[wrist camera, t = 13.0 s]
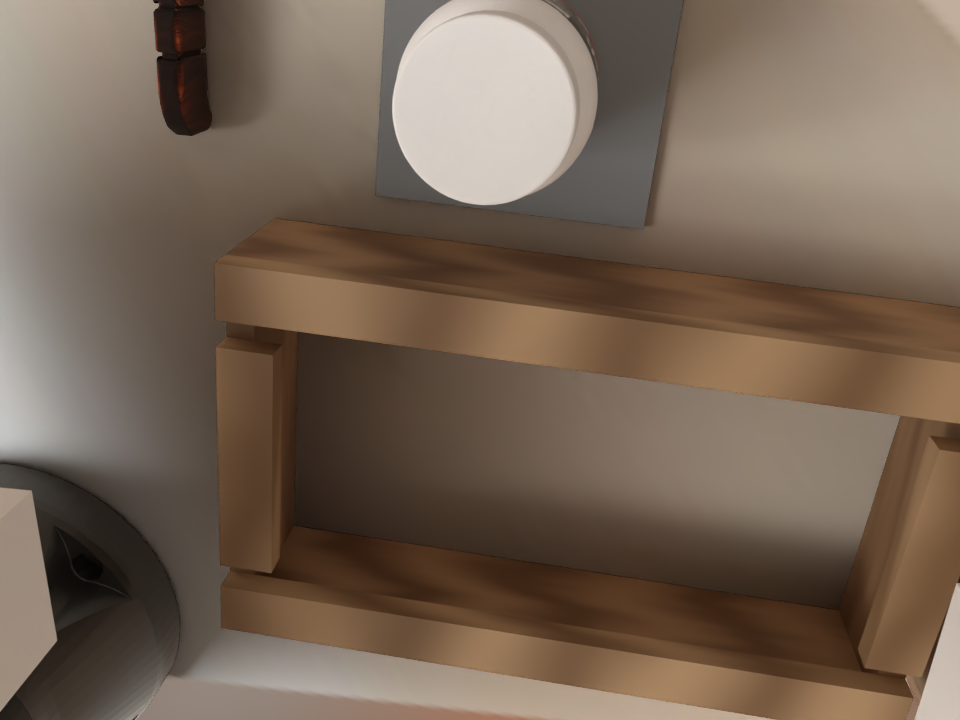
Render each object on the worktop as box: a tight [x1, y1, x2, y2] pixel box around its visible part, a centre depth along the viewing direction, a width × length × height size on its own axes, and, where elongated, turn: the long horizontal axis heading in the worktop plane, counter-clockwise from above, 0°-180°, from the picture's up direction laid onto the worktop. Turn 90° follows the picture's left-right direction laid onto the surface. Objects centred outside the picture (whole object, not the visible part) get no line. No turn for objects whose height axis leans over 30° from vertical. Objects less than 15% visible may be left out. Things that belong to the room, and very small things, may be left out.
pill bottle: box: [392, 0, 599, 205], centre depth 27 cm, size 6×6×10 cm
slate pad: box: [375, 0, 683, 229], centre depth 32 cm, size 10×10×1 cm
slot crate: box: [214, 218, 960, 720], centre depth 34 cm, size 26×15×6 cm, turn 84°
